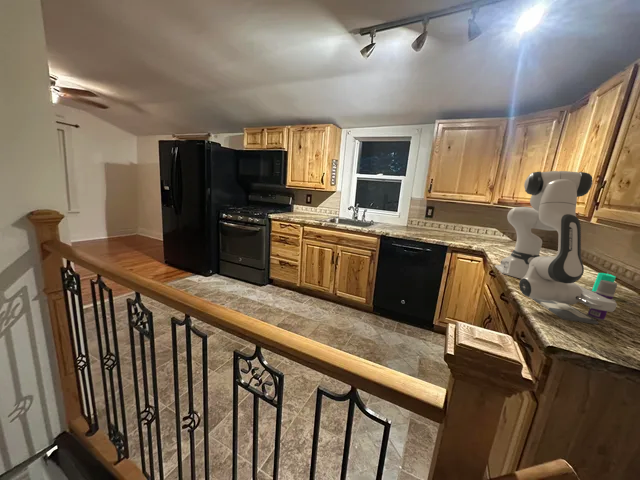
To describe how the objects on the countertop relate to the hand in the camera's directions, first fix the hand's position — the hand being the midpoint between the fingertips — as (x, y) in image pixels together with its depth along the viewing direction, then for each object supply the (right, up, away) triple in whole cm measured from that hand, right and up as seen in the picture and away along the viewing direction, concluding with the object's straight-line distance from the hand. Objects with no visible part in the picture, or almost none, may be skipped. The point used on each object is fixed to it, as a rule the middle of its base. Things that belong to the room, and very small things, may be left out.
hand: (605, 297), depth 99 cm
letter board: (-12, -6, +6) cm, 15 cm away
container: (-2, -8, +2) cm, 9 cm away
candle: (+31, -5, +30) cm, 43 cm away
